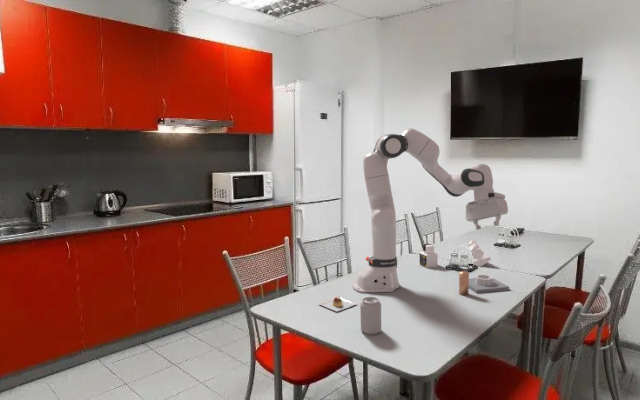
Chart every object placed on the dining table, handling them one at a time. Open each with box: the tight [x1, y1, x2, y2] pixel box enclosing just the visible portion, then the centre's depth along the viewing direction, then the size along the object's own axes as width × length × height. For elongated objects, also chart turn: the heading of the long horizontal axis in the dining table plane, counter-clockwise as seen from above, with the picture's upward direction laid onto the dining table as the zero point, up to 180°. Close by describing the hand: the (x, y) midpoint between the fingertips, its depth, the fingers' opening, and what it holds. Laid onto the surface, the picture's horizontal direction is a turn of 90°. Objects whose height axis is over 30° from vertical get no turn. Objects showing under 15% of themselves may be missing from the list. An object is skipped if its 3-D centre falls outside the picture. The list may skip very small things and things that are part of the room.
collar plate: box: [469, 274, 510, 294], centre depth 196 cm, size 16×15×4 cm
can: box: [359, 296, 382, 336], centre depth 152 cm, size 8×8×12 cm
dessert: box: [318, 295, 358, 313], centre depth 179 cm, size 12×12×5 cm
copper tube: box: [458, 270, 470, 297], centre depth 186 cm, size 4×4×10 cm
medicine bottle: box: [419, 243, 439, 269], centre depth 231 cm, size 7×7×12 cm
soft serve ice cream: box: [467, 239, 492, 268], centre depth 233 cm, size 12×15×14 cm
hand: (487, 227), depth 192 cm, fingers open, 8 cm apart
